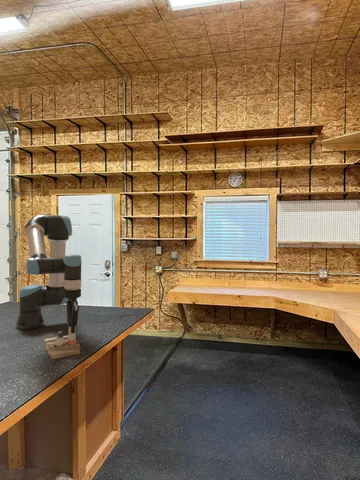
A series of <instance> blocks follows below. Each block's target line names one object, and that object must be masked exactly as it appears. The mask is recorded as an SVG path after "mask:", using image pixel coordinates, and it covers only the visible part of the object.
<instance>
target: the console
mask: <svg viewBox="0 0 360 480" xmlns="http://www.w3.org/2000/svg"><path fill="white" fill-rule="evenodd" d="M56 338H57V336H55V337H48V338H44V345H43V346H44V349H45V350H46V352H47V354H48V355H49V357H50V359H51V360H57V359H61V358H65V357H70V356H75V355H80V354H81V344H80V343H78V341H77V340H76V344H75V345H70V346H68V340H69V334H68V335H63V338H64V346H63V347H55V339H56Z"/></svg>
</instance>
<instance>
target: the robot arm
mask: <svg viewBox="0 0 360 480" xmlns="http://www.w3.org/2000/svg"><path fill="white" fill-rule="evenodd" d="M24 234H25V237H26V238H27V242H28V252H29V258H26V266H25V267H26V274H27V275H36V276H38V275H48V281H46V283H45V286H42V283H41V284H40V283H39V284H30V285H26V286H23V287H21V288H20V290H19V295H18V298H19V304H18V305H19V310H18V311H19V312H18V313H19V314H18V317H17V319H16V323H15V329H17V330H34V329H39V328H42V327H44V326H45V325H46V324H45V323H46V322H45V318H44V315H43V311H42V308H43V307H55V306H62V305H63V306H64V305H65V306H66V319H67V321H66V322H67V323H68V335H69V341H70V340H75V339H76V327H77V326H78V322H79V321H78V317H79V310H80V309H79V308H80V306H79V302H78V299H79V298H81V296H82V256H81V255H80V254H66V250H67V249H66V246H67V244H66V243H67V242H68V240H69V239H70V238H69V237H70V236H72V235H73V226H72V221H71V219H70V217H69V216H67V215H60V214H59V215H57V214H54V215H53V214H50V215H49V214H39V215H35V216H33V217H32V218H30V219H29V220H28V221H27V222H26V224H25V226H24ZM44 236H45V237H46V236H47V240H48V241H49V257H48V253H47V249H46V243H45V239H44Z"/></svg>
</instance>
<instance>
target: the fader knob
mask: <svg viewBox="0 0 360 480" xmlns="http://www.w3.org/2000/svg"><path fill="white" fill-rule="evenodd" d="M63 336H64V332H63V331H62V330H60V331H57V334H56V337H57V338H63Z"/></svg>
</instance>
